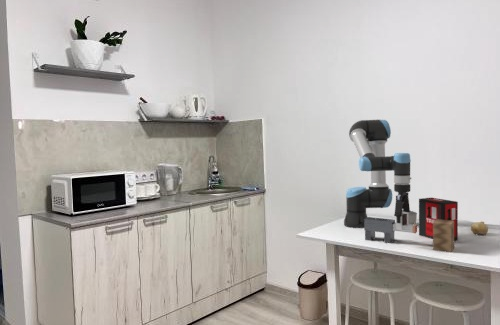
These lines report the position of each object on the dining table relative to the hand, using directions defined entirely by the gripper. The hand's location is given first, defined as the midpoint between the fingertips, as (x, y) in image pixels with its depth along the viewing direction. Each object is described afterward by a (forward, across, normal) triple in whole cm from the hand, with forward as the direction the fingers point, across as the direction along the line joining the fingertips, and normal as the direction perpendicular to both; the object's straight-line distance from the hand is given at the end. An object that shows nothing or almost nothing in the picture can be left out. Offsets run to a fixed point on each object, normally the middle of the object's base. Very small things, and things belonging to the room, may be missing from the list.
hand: (402, 226), depth 189 cm
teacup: (+9, +42, +10) cm, 44 cm away
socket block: (+8, 0, -19) cm, 20 cm away
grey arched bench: (+8, 0, +12) cm, 14 cm away
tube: (+2, 0, +4) cm, 4 cm away
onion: (+9, +39, -30) cm, 50 cm away
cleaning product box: (+9, +20, -12) cm, 25 cm away
